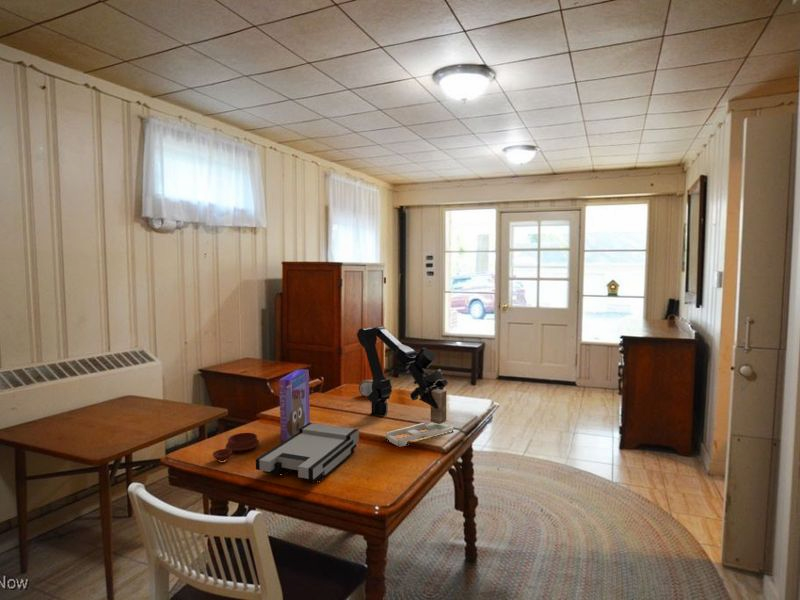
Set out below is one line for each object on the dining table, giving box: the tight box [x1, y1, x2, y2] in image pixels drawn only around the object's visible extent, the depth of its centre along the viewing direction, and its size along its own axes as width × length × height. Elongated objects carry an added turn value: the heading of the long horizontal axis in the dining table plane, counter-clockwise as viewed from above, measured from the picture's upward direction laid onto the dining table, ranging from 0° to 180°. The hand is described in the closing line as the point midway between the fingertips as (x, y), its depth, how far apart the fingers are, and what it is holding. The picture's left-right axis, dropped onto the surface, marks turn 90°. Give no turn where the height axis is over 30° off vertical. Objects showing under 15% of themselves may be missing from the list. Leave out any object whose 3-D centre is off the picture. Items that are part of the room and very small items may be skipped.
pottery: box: [212, 432, 260, 461], centre depth 174 cm, size 12×20×4 cm, turn 161°
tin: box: [358, 379, 373, 398], centre depth 243 cm, size 15×3×8 cm, turn 84°
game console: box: [255, 422, 360, 483], centre depth 164 cm, size 21×32×8 cm, turn 159°
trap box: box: [385, 422, 455, 448], centre depth 189 cm, size 26×9×3 cm, turn 125°
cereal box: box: [278, 368, 311, 442], centre depth 192 cm, size 17×5×24 cm, turn 168°
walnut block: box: [430, 389, 448, 424], centre depth 193 cm, size 4×4×12 cm
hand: (441, 406), depth 193 cm, fingers closed on walnut block, 4 cm apart
